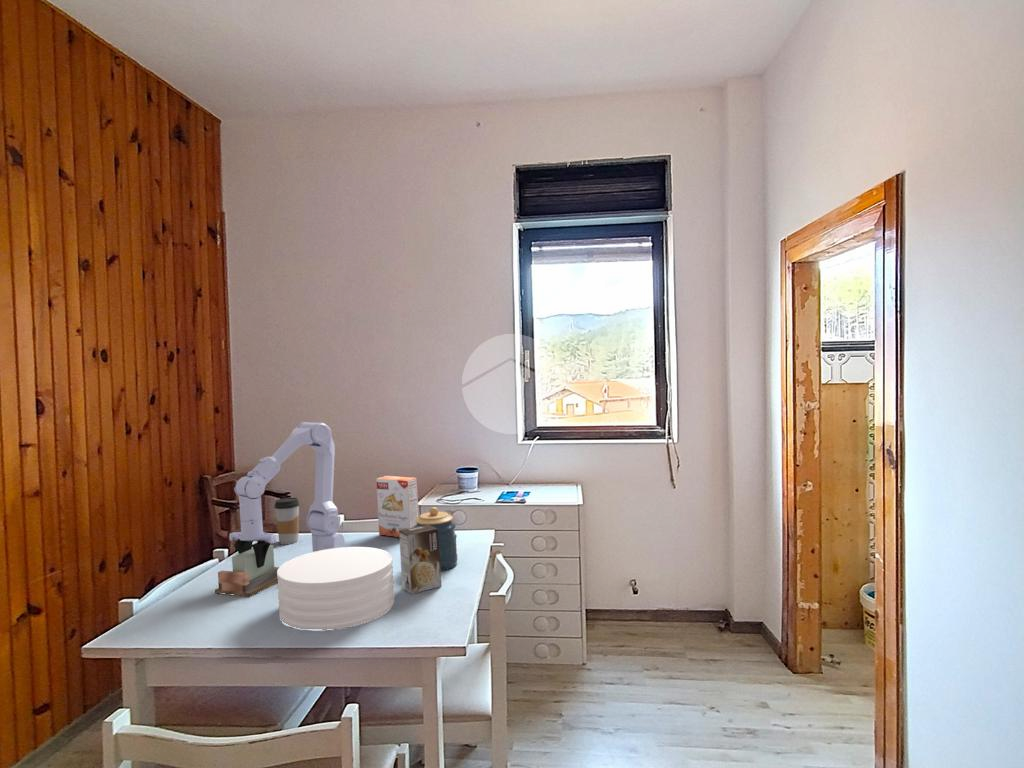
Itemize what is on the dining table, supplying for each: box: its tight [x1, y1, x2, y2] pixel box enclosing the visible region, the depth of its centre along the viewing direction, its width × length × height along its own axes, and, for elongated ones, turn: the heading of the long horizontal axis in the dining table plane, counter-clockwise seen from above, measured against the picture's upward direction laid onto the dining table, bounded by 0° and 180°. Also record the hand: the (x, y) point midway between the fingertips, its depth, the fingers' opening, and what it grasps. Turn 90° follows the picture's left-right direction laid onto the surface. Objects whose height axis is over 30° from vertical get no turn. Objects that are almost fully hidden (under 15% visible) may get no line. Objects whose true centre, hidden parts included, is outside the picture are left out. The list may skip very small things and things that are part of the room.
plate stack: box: [277, 546, 395, 630], centre depth 157 cm, size 28×28×12 cm
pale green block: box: [231, 544, 275, 581], centre depth 177 cm, size 4×12×7 cm, turn 162°
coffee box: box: [398, 525, 442, 595], centre depth 169 cm, size 9×6×16 cm
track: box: [214, 566, 280, 597], centre depth 178 cm, size 12×20×6 cm, turn 162°
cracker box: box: [376, 475, 420, 538], centre depth 221 cm, size 14×6×21 cm, turn 62°
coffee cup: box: [274, 497, 300, 545], centre depth 219 cm, size 8×8×15 cm
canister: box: [413, 506, 458, 572], centre depth 187 cm, size 13×13×18 cm
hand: (254, 566), depth 177 cm, fingers closed on pale green block, 4 cm apart
